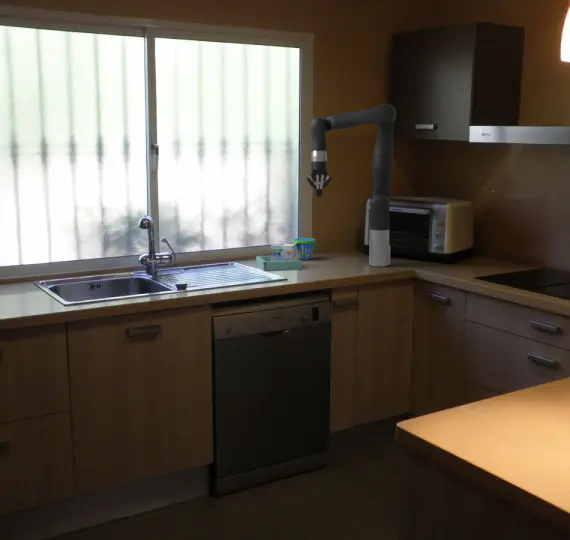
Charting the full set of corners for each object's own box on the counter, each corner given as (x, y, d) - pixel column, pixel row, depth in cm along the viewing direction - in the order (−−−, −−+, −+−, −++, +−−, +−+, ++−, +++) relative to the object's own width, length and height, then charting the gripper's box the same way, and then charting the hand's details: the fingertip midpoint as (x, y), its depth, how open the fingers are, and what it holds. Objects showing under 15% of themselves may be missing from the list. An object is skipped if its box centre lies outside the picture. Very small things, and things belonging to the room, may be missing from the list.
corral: (292, 262, 367) (292, 254, 366) (301, 269, 350) (301, 260, 349) (255, 264, 363) (255, 256, 362) (263, 270, 346) (263, 262, 345)
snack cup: (298, 262, 369) (298, 241, 367) (285, 259, 377) (285, 239, 375) (323, 259, 378) (323, 239, 376) (309, 256, 386) (310, 236, 384)
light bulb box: (270, 267, 355) (270, 244, 353) (273, 265, 361) (273, 242, 359) (292, 268, 353) (292, 245, 351) (295, 266, 359) (295, 243, 357)
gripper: (330, 160, 364) (329, 196, 367) (303, 160, 361) (303, 196, 364) (334, 160, 357) (334, 197, 360) (307, 160, 354) (307, 197, 357)
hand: (318, 196), depth 362 cm, fingers closed
